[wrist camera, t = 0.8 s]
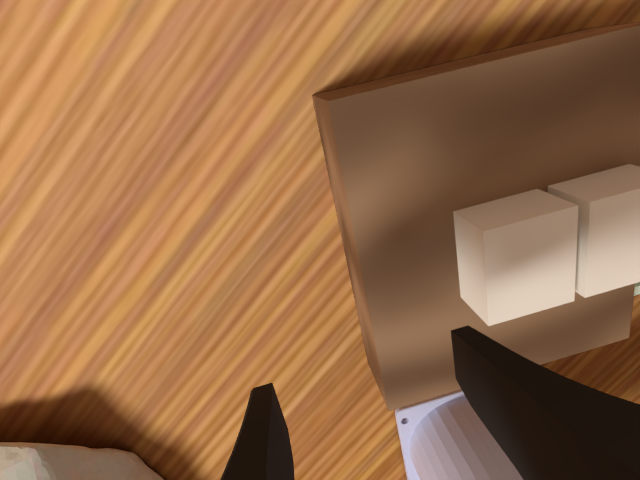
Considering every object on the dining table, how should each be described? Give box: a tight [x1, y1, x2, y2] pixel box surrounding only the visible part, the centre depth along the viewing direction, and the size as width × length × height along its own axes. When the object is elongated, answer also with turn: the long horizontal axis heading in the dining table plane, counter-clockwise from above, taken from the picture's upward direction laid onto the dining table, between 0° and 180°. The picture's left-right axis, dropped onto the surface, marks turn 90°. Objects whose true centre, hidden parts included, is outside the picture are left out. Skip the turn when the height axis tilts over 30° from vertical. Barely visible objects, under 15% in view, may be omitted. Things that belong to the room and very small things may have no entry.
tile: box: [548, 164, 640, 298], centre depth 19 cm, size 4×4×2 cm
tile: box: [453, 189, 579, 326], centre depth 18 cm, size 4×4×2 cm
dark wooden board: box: [312, 22, 640, 411], centre depth 21 cm, size 16×14×4 cm
